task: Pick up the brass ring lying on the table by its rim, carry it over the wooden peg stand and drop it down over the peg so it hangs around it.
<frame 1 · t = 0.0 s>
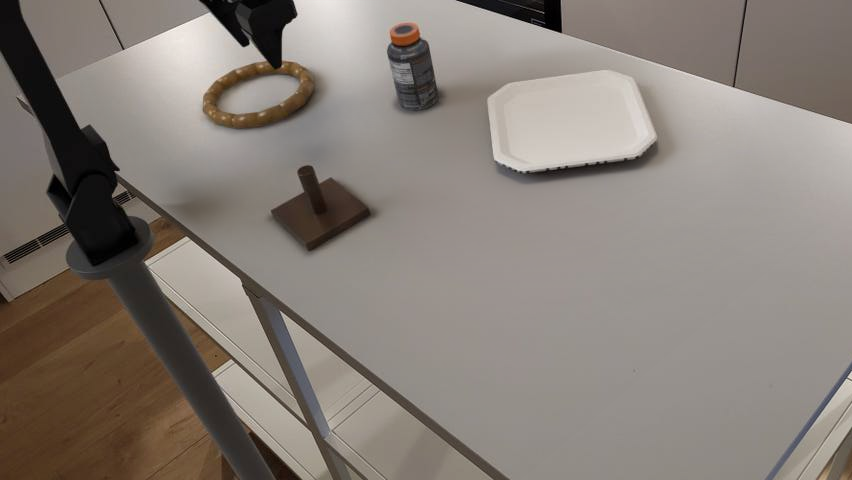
hand: (261, 56, 100), 12 cm above the table, tool pointing down, fingers open, 9 cm apart
pill bottle: (418, 101, 111), on the table
plate: (568, 130, 101), on the table
ring: (258, 92, 116), point 1 cm above the table
wooden peg stand: (321, 216, 94), on the table
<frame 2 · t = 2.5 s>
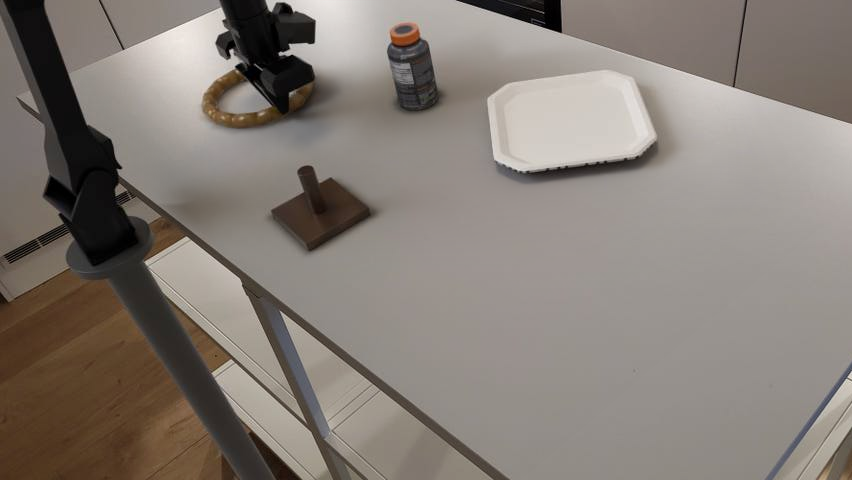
hand: (281, 110, 111), 1 cm above the table, tool pointing down, fingers closed on ring, 2 cm apart
ring: (258, 92, 116), point 1 cm above the table, touching gripper
everything else where it was.
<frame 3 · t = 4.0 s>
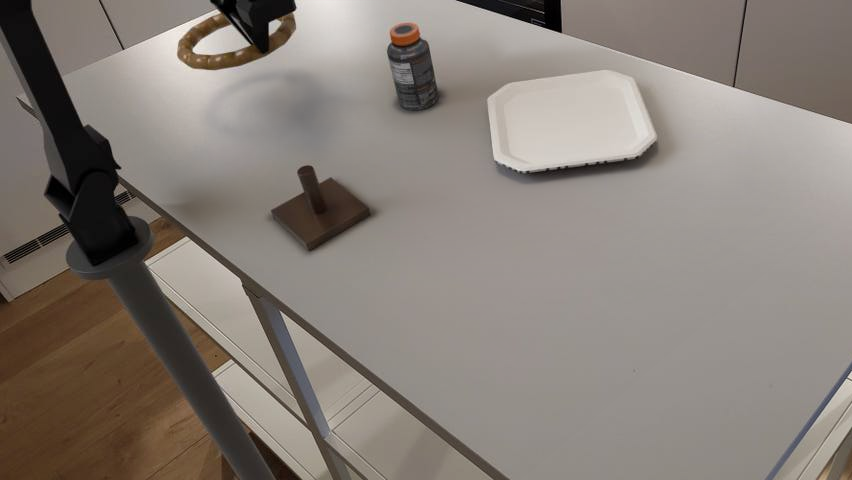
hand: (261, 49, 103), 12 cm above the table, tool pointing down, fingers closed on ring, 2 cm apart
ring: (237, 35, 108), point 11 cm above the table, touching gripper
everything else where it was.
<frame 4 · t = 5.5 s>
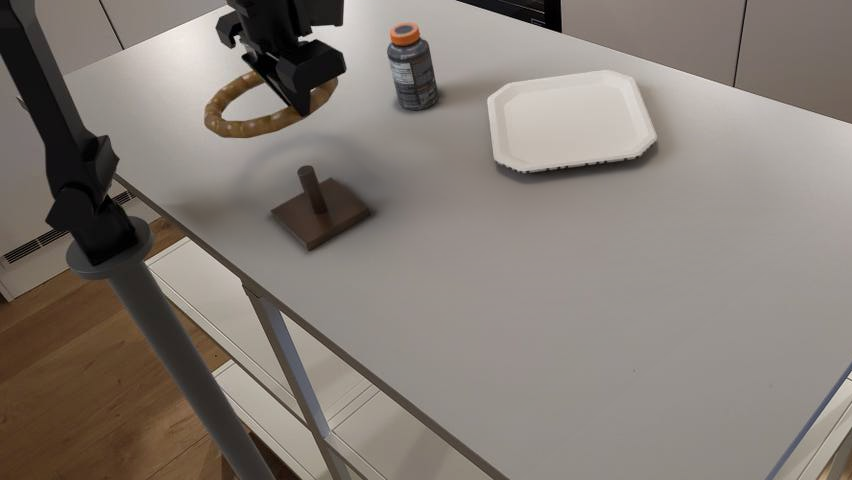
hand: (300, 111, 88), 13 cm above the table, tool pointing down, fingers closed on ring, 2 cm apart
ring: (271, 96, 93), point 12 cm above the table, tilted 8°, touching gripper
everything else where it was.
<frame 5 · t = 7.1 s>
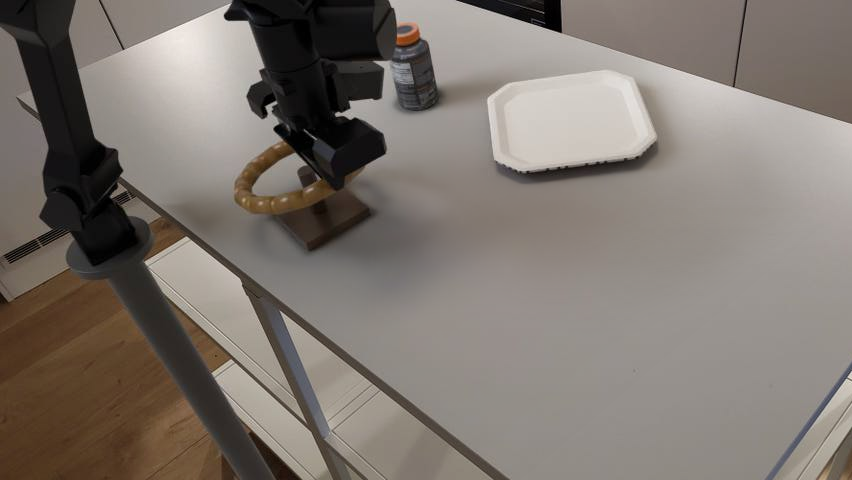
hand: (333, 184, 84), 9 cm above the table, tool pointing down, fingers closed on ring, 2 cm apart
ring: (302, 167, 89), point 8 cm above the table, tilted 12°, touching gripper
everything else where it was.
when the fingers open (5 cm above the table, at t = 8.4 s): ring drops 3 cm, point 1 cm above the table.
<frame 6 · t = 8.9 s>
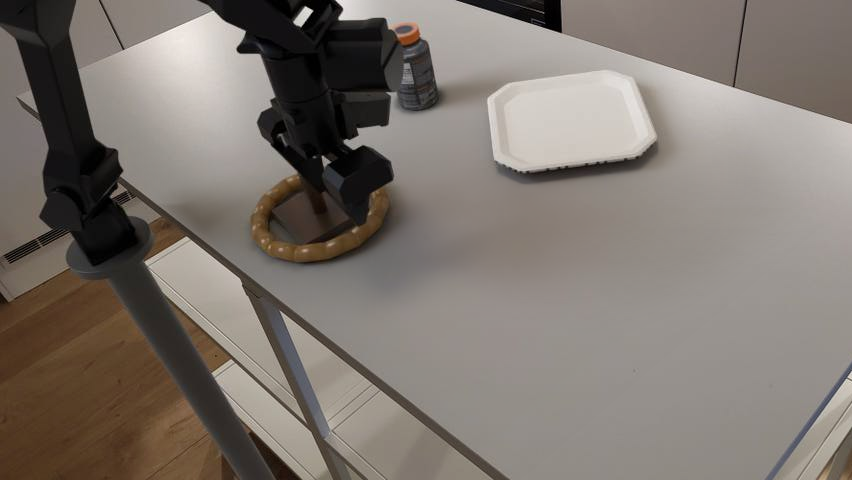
hand: (341, 207, 86), 6 cm above the table, tool pointing down, fingers open, 8 cm apart
ring: (319, 210, 94), point 1 cm above the table
everything else where it was.
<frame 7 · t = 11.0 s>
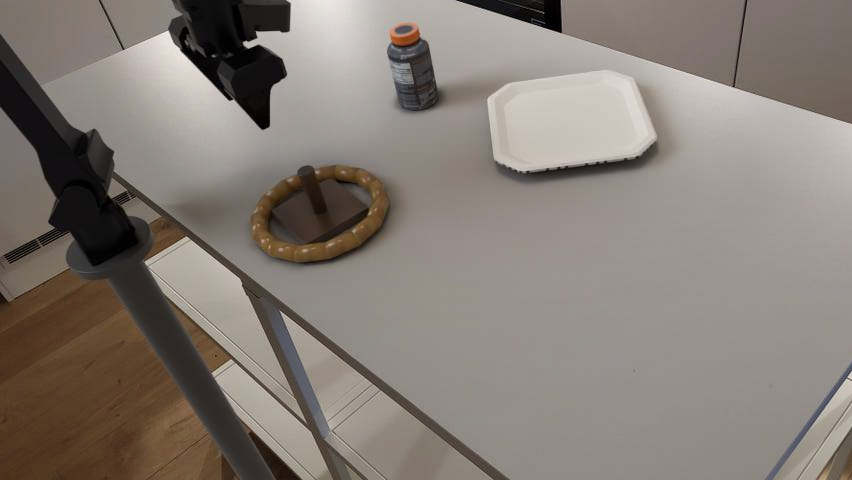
hand: (248, 113, 91), 12 cm above the table, tool pointing down, fingers open, 9 cm apart
nothing on the table moved.
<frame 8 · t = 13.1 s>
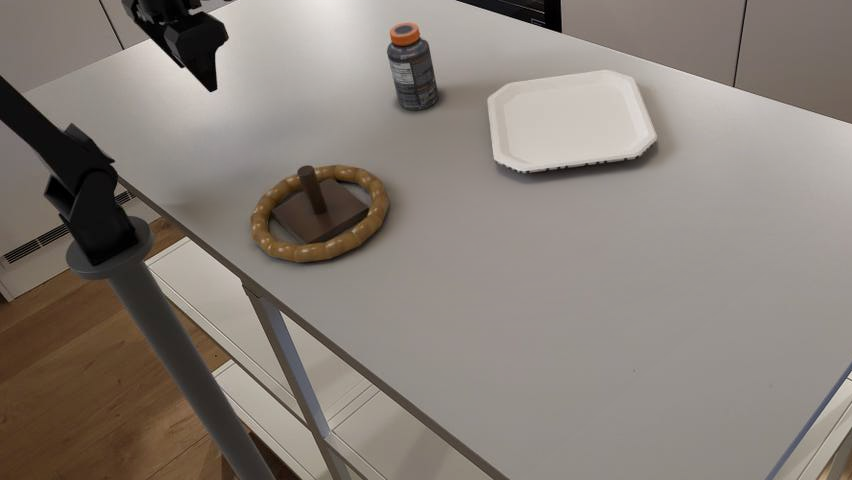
hand: (198, 78, 98), 12 cm above the table, tool pointing down, fingers open, 9 cm apart
nothing on the table moved.
at the end: ring inside the target area on the wooden peg stand (0.2 cm from its centre), point 1.0 cm above the wooden peg stand's base; the gripper is holding nothing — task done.
